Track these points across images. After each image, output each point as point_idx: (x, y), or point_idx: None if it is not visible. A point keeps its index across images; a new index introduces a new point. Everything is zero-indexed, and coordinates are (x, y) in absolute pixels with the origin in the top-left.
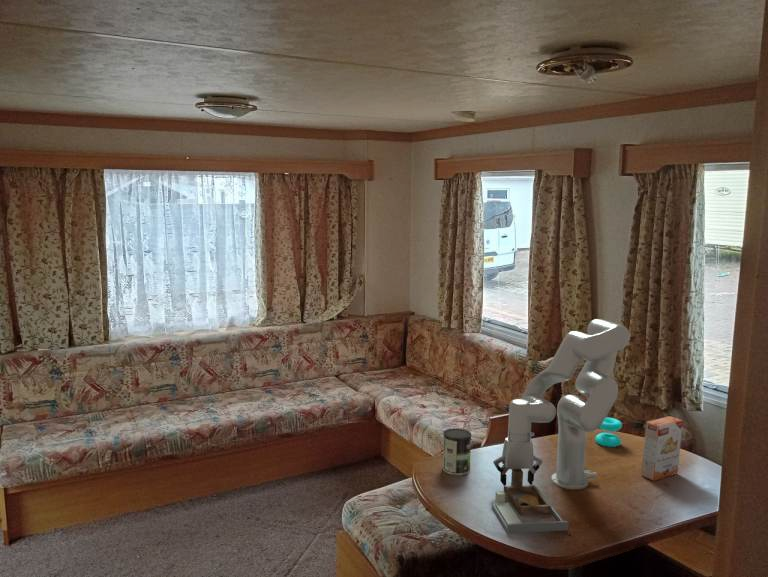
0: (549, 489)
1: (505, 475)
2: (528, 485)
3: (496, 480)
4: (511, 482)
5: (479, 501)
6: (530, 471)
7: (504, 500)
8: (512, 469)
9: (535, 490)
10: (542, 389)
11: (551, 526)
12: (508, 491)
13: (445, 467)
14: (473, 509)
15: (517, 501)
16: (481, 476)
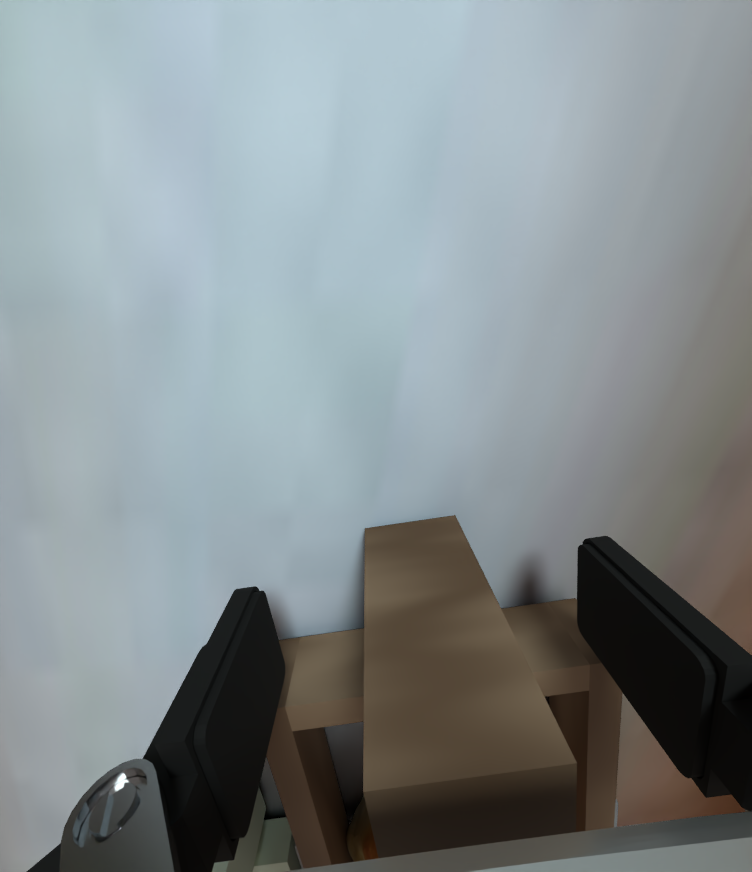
0: (748, 514)
1: (224, 854)
2: (546, 671)
3: (219, 333)
4: (365, 575)
5: (71, 751)
6: (741, 791)
7: (251, 867)
8: (370, 810)
9: (583, 737)
10: None
11: None
12: (294, 798)
13: None
14: (42, 842)
15: (362, 852)
16: (13, 214)
